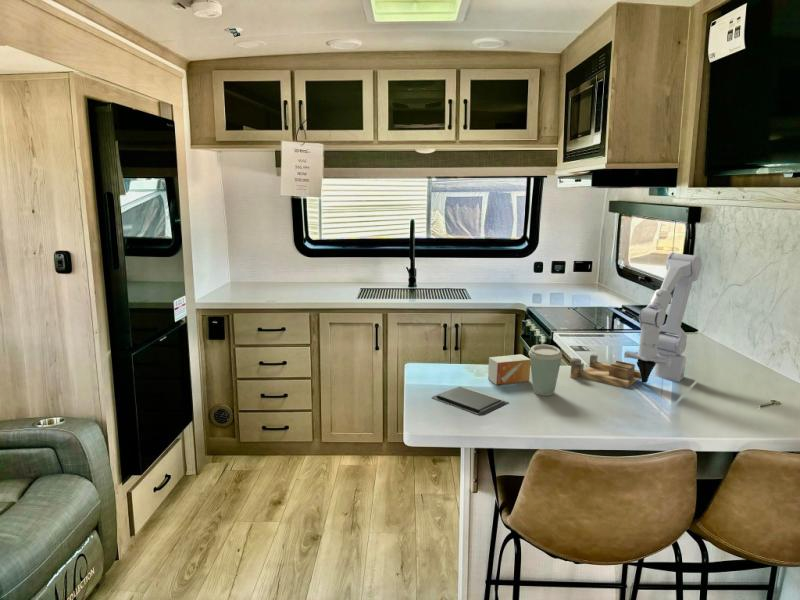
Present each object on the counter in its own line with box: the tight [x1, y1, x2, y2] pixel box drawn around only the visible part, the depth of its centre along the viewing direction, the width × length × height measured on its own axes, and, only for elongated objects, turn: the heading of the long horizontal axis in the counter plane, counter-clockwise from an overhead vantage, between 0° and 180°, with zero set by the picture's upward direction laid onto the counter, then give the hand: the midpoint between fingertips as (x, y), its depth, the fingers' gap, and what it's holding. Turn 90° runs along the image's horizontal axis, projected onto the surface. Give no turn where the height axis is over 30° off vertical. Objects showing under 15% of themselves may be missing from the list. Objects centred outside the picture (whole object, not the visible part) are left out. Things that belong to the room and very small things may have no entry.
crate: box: [609, 360, 636, 381], centre depth 199 cm, size 6×8×5 cm
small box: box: [487, 353, 531, 386], centre depth 197 cm, size 8×6×13 cm
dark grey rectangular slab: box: [431, 386, 510, 417], centre depth 179 cm, size 20×2×15 cm
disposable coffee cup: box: [528, 343, 563, 397], centre depth 186 cm, size 11×11×15 cm
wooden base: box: [569, 354, 641, 389], centre depth 201 cm, size 19×19×7 cm
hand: (644, 381), depth 195 cm, fingers closed
